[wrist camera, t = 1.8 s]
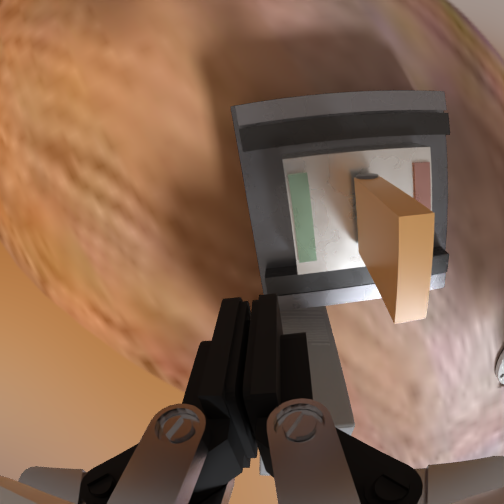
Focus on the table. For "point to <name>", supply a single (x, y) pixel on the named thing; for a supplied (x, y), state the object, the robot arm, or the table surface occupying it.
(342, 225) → the breaker box
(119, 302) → the table surface
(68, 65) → the table surface
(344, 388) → the skincare box
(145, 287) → the table surface
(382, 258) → the breaker lever
